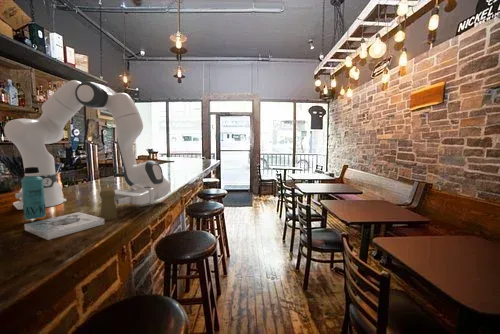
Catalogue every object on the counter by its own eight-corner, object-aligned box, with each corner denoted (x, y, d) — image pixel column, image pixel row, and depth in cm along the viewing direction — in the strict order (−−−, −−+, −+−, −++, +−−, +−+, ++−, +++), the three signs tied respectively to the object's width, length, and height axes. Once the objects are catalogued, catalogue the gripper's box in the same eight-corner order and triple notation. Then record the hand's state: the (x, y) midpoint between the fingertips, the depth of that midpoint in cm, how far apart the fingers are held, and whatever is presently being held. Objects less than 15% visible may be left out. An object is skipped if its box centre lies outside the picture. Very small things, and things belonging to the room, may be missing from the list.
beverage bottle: (20, 222, 96) (14, 167, 94) (40, 217, 102) (35, 166, 100) (31, 224, 93) (25, 168, 91) (51, 219, 99) (46, 166, 97)
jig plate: (24, 230, 87) (24, 224, 87) (79, 217, 101) (79, 212, 101) (48, 240, 78) (47, 233, 78) (104, 224, 93) (104, 218, 92)
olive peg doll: (112, 219, 98) (110, 190, 97) (96, 219, 98) (94, 190, 97) (120, 215, 104) (119, 187, 103) (105, 215, 104) (103, 187, 103)
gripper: (122, 184, 117) (91, 190, 105) (155, 188, 108) (127, 194, 96) (122, 198, 118) (92, 205, 106) (156, 203, 109) (128, 211, 97)
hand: (109, 200), depth 101 cm, fingers open, 8 cm apart
